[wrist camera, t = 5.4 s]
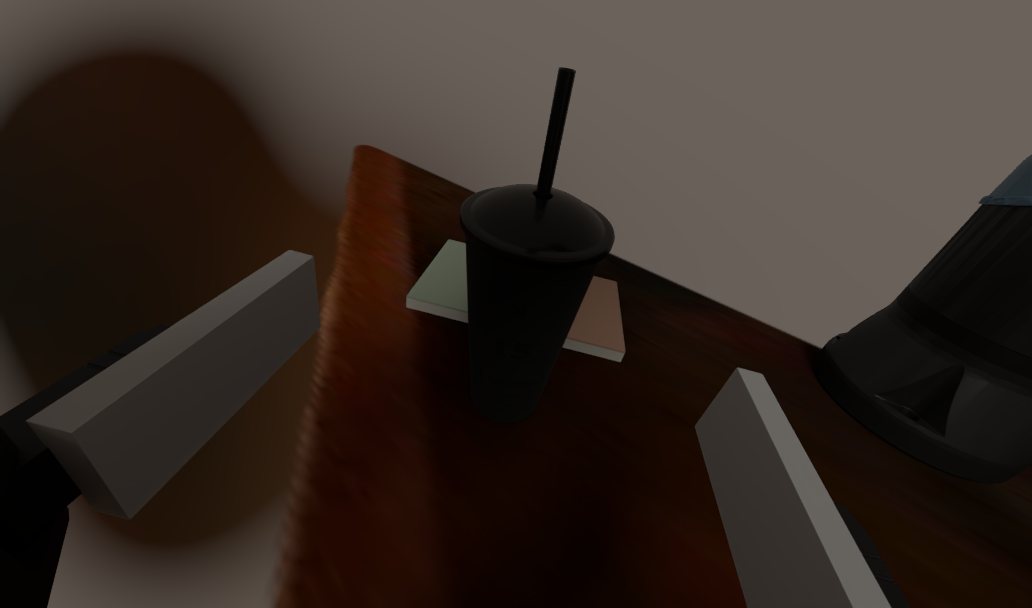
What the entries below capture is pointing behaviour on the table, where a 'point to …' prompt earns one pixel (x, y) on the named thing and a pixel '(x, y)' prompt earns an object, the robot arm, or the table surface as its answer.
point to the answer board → (588, 334)
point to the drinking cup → (527, 277)
